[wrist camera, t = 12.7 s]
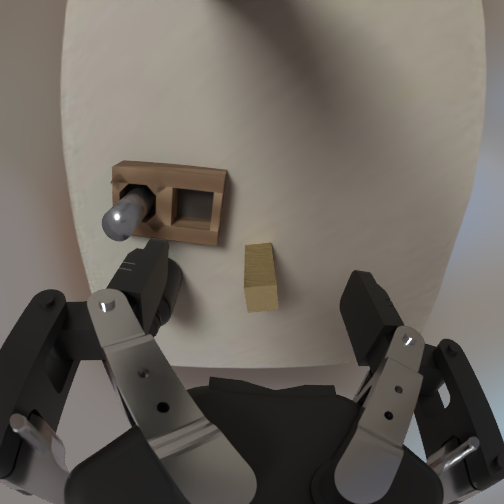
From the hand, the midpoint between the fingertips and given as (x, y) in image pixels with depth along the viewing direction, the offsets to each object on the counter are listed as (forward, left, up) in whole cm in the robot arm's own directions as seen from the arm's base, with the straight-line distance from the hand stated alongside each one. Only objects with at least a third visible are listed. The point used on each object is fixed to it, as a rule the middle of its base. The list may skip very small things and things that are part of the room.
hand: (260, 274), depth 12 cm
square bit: (+14, +3, -26) cm, 29 cm away
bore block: (+7, -10, -26) cm, 28 cm away
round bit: (+7, -13, -26) cm, 30 cm away
